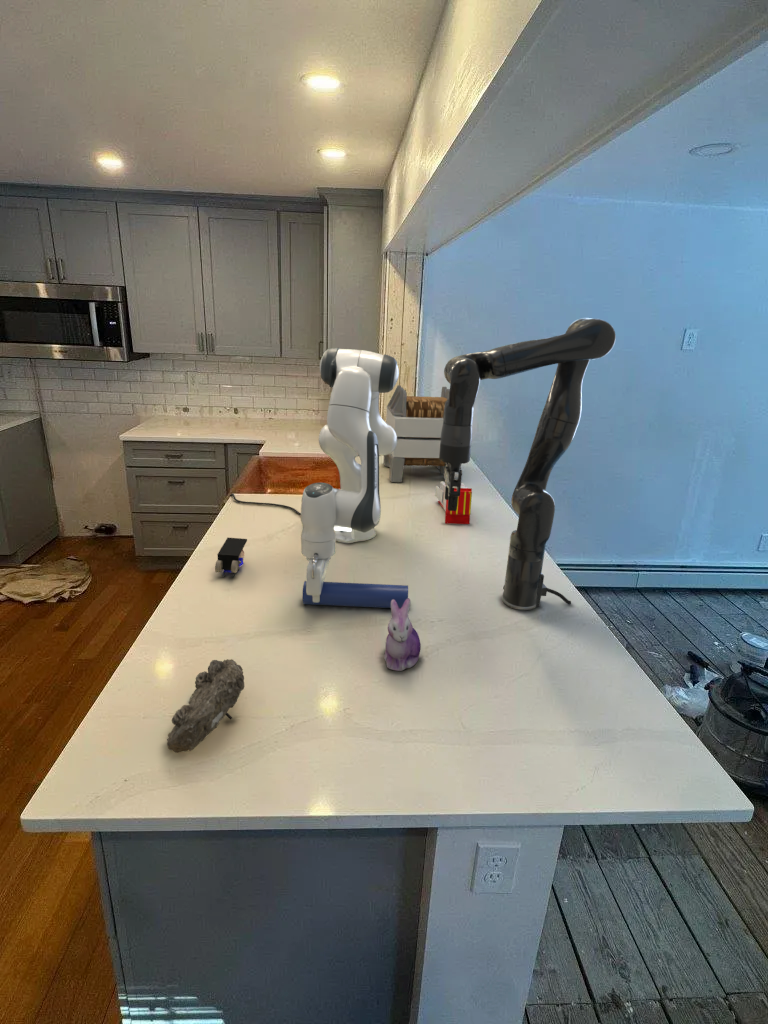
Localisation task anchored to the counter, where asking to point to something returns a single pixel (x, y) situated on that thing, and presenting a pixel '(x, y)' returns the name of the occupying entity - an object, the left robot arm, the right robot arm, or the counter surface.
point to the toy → (462, 505)
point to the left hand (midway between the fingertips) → (318, 594)
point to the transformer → (415, 431)
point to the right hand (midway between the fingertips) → (450, 504)
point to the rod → (358, 595)
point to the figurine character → (230, 556)
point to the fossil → (206, 705)
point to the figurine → (401, 639)
